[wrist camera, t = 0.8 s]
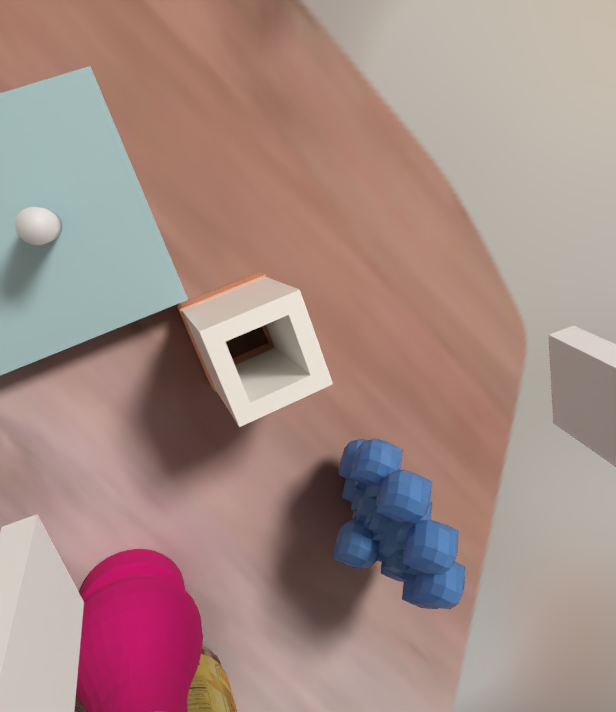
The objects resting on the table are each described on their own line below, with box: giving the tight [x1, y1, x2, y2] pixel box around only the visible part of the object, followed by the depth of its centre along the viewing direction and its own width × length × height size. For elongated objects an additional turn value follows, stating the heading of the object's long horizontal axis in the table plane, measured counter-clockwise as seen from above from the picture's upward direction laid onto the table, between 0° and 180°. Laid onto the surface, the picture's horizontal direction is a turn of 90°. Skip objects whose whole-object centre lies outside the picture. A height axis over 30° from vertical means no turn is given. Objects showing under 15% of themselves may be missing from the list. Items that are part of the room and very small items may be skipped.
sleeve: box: [177, 272, 333, 427], centre depth 31 cm, size 5×5×8 cm
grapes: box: [333, 439, 465, 609], centre depth 34 cm, size 12×7×12 cm, turn 22°
